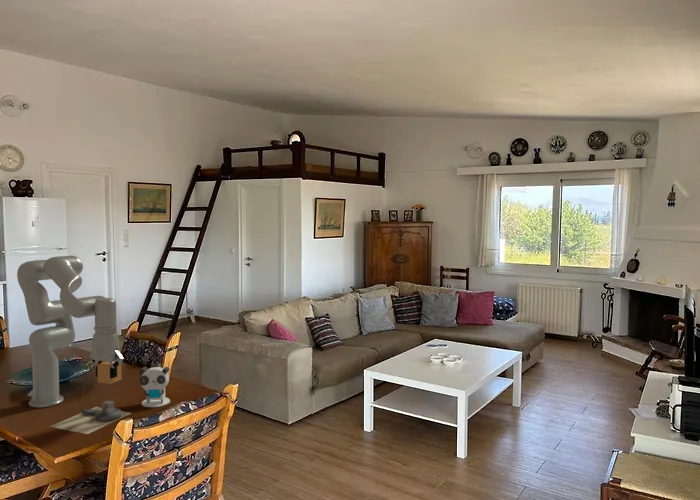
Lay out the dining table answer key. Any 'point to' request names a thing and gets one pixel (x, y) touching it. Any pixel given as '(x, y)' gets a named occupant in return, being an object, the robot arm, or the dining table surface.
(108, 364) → the tan wooden cube
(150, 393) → the panda figurine
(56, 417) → the dining table surface
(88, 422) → the board
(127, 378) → the dining table surface
